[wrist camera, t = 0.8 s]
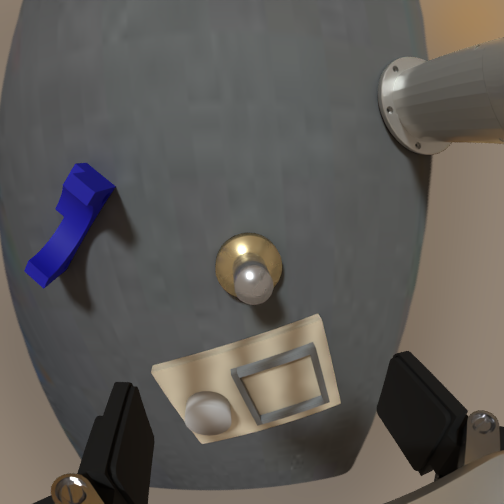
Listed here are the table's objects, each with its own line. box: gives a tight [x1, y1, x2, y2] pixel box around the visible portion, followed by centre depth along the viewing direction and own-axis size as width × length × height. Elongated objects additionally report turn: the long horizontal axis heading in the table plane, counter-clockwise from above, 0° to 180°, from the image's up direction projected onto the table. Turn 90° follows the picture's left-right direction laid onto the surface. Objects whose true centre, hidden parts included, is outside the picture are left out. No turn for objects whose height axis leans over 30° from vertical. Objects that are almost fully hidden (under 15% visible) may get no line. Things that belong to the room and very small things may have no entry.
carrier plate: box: [151, 314, 341, 444], centre depth 36 cm, size 22×16×4 cm
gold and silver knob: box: [216, 233, 282, 305], centre depth 30 cm, size 7×7×6 cm
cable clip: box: [25, 163, 116, 288], centre depth 27 cm, size 12×4×6 cm, turn 140°
